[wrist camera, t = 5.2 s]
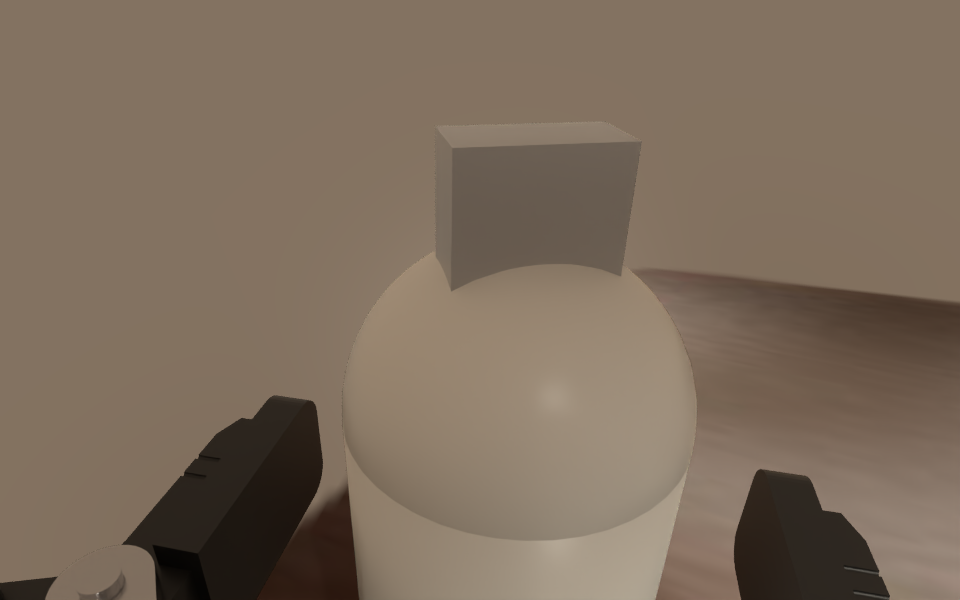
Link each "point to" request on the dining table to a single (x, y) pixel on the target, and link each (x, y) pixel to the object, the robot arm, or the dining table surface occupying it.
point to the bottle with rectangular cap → (519, 385)
